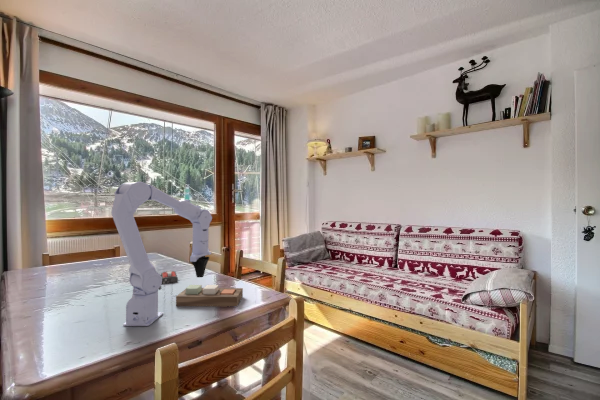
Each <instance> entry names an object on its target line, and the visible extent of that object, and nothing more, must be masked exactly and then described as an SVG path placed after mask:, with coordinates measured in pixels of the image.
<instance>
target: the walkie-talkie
mask: <svg viewBox="0 0 600 400" xmlns="http://www.w3.org/2000/svg"><path fill="white" fill-rule="evenodd" d="M160 275H161V277H162V284H161V286H160V288H161V287H162V285H165V284H173V283H178V275H177V272H176V271H174V270H166V271H163V272H161V274H160Z"/></svg>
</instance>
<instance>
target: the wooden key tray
mask: <svg viewBox="0 0 600 400" xmlns="http://www.w3.org/2000/svg"><path fill="white" fill-rule="evenodd" d="M203 288H204V287H202V291H201V292H200V293H199V294H186V288H184V290H182V291H181V292H180V293H179V294H177V295H176V296H175V306H176V307H224V308H225V307H227V306H229V307H230V306H237V305H238V306H239V304H240V303H241V301H240V300H242V299H243V296H244V293H243V292H244V290H243V288H241V287H218V292H217V293H216V294H215V295H205V294H203ZM224 289H235V293H234V295H221V292H222V291H223V290H224ZM241 298H242V299H241ZM238 306H237V307H238Z"/></svg>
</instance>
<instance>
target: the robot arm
mask: <svg viewBox="0 0 600 400" xmlns="http://www.w3.org/2000/svg"><path fill="white" fill-rule="evenodd" d="M113 195H114V199H113V203H112V209H111V217H112V220H113V223H114V225H115V227H116V230H117V232H118V235H119V239H120V242H121V243H122V246H123V249H124V251H125V254H126V257H127V260H128V262H129V265H130V267H129V268H128V273H129V284H130V286H132V287H133V288H132V295H131V297H130V299H128V301H127V302H126V304H125V305H126V306H125V322H124V323H123V324H122V326H123V327H124V326H125V327H127V326H129V327H132V326H133V327H149V326H150V325H152V324H153V323H154V322H156V321H157V320H158V319H159V318H160V317H161V316H163V314H164V312H163V311H159V289H160V288H161V287H162V285H163V284H162V277H161V274H160V273H158V272H157V270H156V268H155V266H154V265H153V263H152V262H151V261H150V259H149V257H148V254H147V251H146V248H145V246H144V242H143V239H142V236H141V233H140V231H139V227H138V225H137V222H136V220H135V216H134V215H135V213H136V211H137V210H138V208H139V207H141V206H142V205H143V204H144V203H146V202H147V201H153V202H157V203H160V204H162V205H164V206H165V207H166V206H167V207H168V208H170V209H173V210H174V213H175V214H176V215H178V216H179V217H182V218H184V219H187V220H189V221H190V223H191V224H192V244H191V245H192V251H191V255H190V256H189V262H191V263H192V266H193V267H194V272H195V276H196V278H203V277H204V275H205V271H206V267H207V264H208V262H209V260H210V255H212V251H210V248H209V235H210V234H209V233H210V231H209V230H210V229H209V228H210V225H211V224H210V223H211V222H212V219H213V216H212V214H211V212H210V211H209V209H205V208H201V206H200V205H199V204H198V205H195V204H194V203H192V202H191V200H190V199H180V200H178V199H176V198H175V197H173V196H172V195H170V194H169V193H166V192H165V191H162V190H160V189H159V188H158V187H155V186H154V185H151V184H148V183H146V182H144V181H135V182H131V181H130V182H123V183H121V184H120V185H119V186H118V187H117V188H116V190H115V191H114V194H113ZM160 286H161V287H160Z"/></svg>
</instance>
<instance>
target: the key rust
mask: <svg viewBox="0 0 600 400" xmlns="http://www.w3.org/2000/svg"><path fill="white" fill-rule="evenodd" d="M234 293H235V289H224V290H223V291H222V292H221V295H234Z"/></svg>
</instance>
